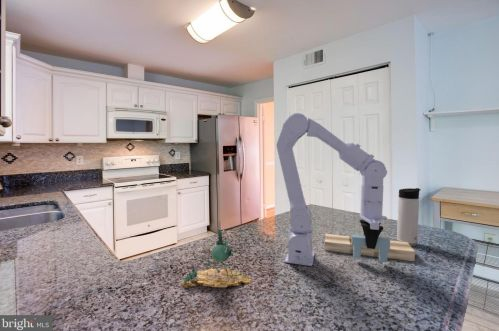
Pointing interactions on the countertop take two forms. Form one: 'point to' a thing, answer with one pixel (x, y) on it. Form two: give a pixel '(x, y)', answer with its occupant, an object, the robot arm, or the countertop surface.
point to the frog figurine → (214, 275)
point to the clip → (360, 241)
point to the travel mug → (408, 215)
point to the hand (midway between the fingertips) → (370, 246)
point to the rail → (345, 246)
